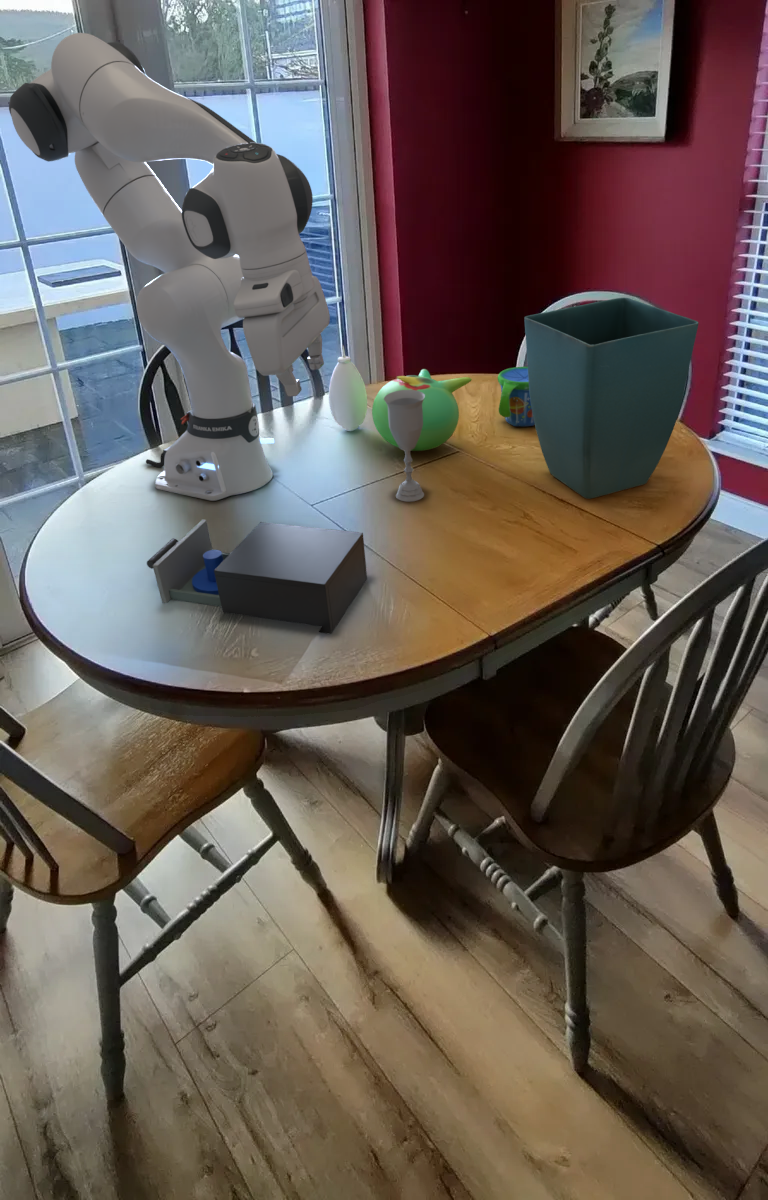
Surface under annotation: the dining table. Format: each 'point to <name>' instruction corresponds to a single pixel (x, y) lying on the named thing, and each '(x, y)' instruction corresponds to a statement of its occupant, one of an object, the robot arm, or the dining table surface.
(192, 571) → the grey drawer
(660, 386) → the flower pot
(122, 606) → the dining table surface
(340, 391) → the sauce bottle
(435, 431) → the toy bird
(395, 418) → the chalice
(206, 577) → the lid
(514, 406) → the snack cup
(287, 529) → the dark grey drawer cabinet
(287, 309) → the robot arm
